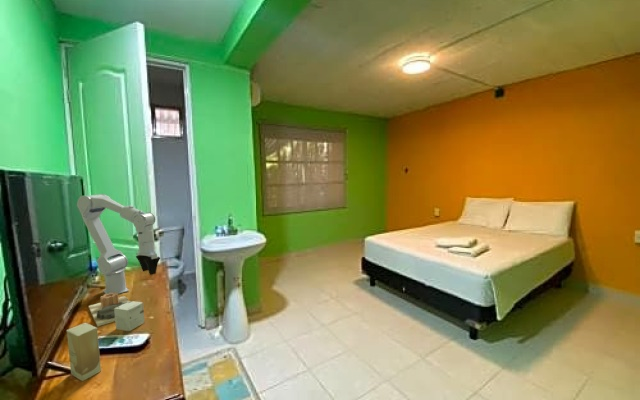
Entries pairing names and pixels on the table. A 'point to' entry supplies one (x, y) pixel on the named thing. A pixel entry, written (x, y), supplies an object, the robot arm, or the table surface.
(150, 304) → the table surface
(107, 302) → the loose gear
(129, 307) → the skincare box
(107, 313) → the gear board
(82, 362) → the skincare box
